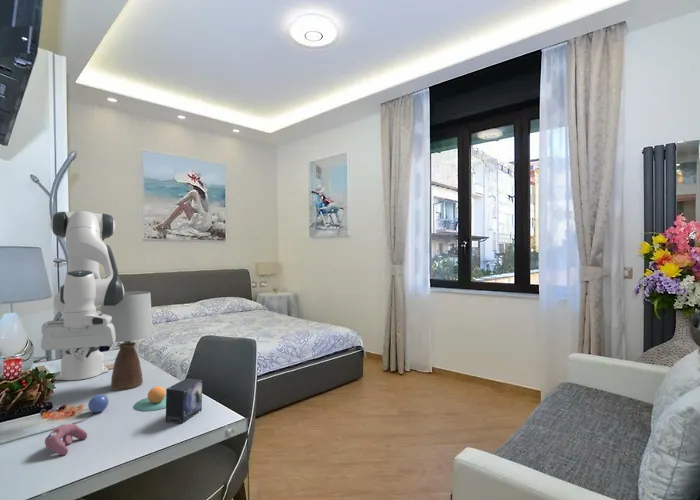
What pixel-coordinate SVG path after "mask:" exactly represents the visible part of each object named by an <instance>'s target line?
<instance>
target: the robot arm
mask: <svg viewBox="0 0 700 500" xmlns="http://www.w3.org/2000/svg"><path fill="white" fill-rule="evenodd" d="M49 225H50V230H51V231H52V234H54V235H55V236H57V237H59V238H60V237H61V238H65V246H66V249H67V250H68V251H67V273H66V274H65V279H64V284H63V285H62V286H60V287H59V288H60V289H59V290H60V291H58V292H57V293H56V294H55V296H54V298H53V307H54V308H55V310H57V311H58V312H59V313H61V315H62V317H63V318H62V320H48V321H47V322H44V323H43V324H42V325H41V334H42V337H41V344H40V348H41V349H42V350H43V351H57V350H58V351H59V350H65V355H64V356H63V357H62V358H61V359H60V372H59V373H58V374H57V375H56V376H55V377H54V380H56V381H57V380H58V381H59V380H60V381H61V380H62V381H78V380H80V381H81V380H83V379H89V378H93V377H94V378H95V377H96V376H99V375H102V374H104V373H107V372H109V369H108V367H106V366H105V365H104V353H102V352H101V351H100V350H99V349H100V347H108V346H112V345H114V344H115V343H116V342H115V341H116V335H115V328H114V325H113V324H112V323H110V322H111V320H112V317H111V316H110V315H105V314H101V312H97V309H98V308H100V307H102V305H104V306H115V305H116V304H118V303H119V302H120V301H122V300H123V297H124V292H125V288H124V284H123V282H122V280H121V277H120V274H119V269H118V267H117V263H116V260H115V256H114V254H113V251H112V248H111V246H110V245H109V244H106V243H105V240H106V239H108V238H110V237H112V236H113V234H114V233H115V230H116V221H115V220H114V217H113V216H112V215H111V214H108V213H97V212H91V211H88V210H87V211H86V210H78V211H70V212H69V211H68V212H67V211H59V212H56V213H54V214H53V216H52V217H51V219H50V223H49ZM100 264H101V265H102V267H103V270H104V271H103V272H104V274H105V278H101V274H100Z"/></svg>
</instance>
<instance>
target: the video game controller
mask: <svg viewBox="0 0 700 500" xmlns="http://www.w3.org/2000/svg"><path fill="white" fill-rule="evenodd" d="M73 437H74V438H75V439H78V440H86V439H87V438H88V433H87V432H86V431H85V429H82V428H81V427H79V426H78V425H77V424H75V423H73V422H71V421H70V422H69V423H65V424H61V425H59V426H57V427H55V428H54V429H52V431H51V432H50V433H49V434H48V435H47V436H46V437H45V439H44V445H45V447H46V448H47V449H50V450H51V451H52V452H53V453H55V454H56V455H59V456H66V455H68V452H69V450H68V447H67V446H68V445H70V444H72V443H73ZM61 439H62V440H61Z"/></svg>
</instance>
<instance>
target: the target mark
mask: <svg viewBox="0 0 700 500" xmlns="http://www.w3.org/2000/svg"><path fill="white" fill-rule="evenodd" d="M133 409H134V410H136V411H140V412H153V411H159V410H160V411H161V410H163V409H166V394H165V397H164V399H163V400H162V401H161V402H159V403H152V402H150V401H149V400H148V397H146V398H142V399H140V400H138V401H137V402H136V403H134V405H133Z"/></svg>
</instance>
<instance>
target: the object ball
mask: <svg viewBox="0 0 700 500" xmlns="http://www.w3.org/2000/svg"><path fill="white" fill-rule="evenodd" d="M165 395H166V389H165V388H164V387H162V386H159V385H157V386H154V387H152V388H151V389H150V390H148V393H147V398H148V400H149V401H150V402H152V403H159V402H161V401H162V400H163V399H164V397H165Z"/></svg>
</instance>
